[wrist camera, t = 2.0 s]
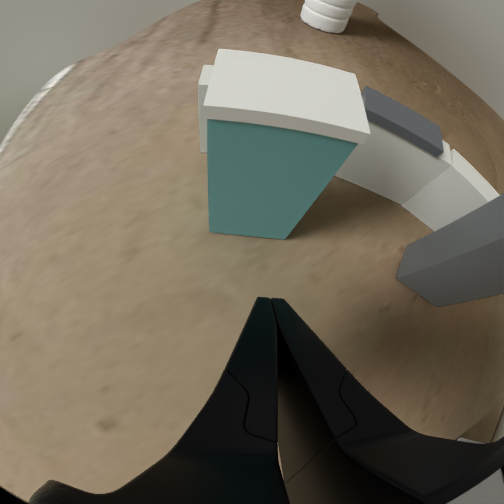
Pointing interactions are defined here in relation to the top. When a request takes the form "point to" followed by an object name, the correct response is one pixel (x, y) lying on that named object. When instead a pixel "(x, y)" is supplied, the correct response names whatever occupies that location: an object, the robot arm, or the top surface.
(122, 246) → the top surface
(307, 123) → the teal and white block
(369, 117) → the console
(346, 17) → the water bottle
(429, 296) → the grey and white block
